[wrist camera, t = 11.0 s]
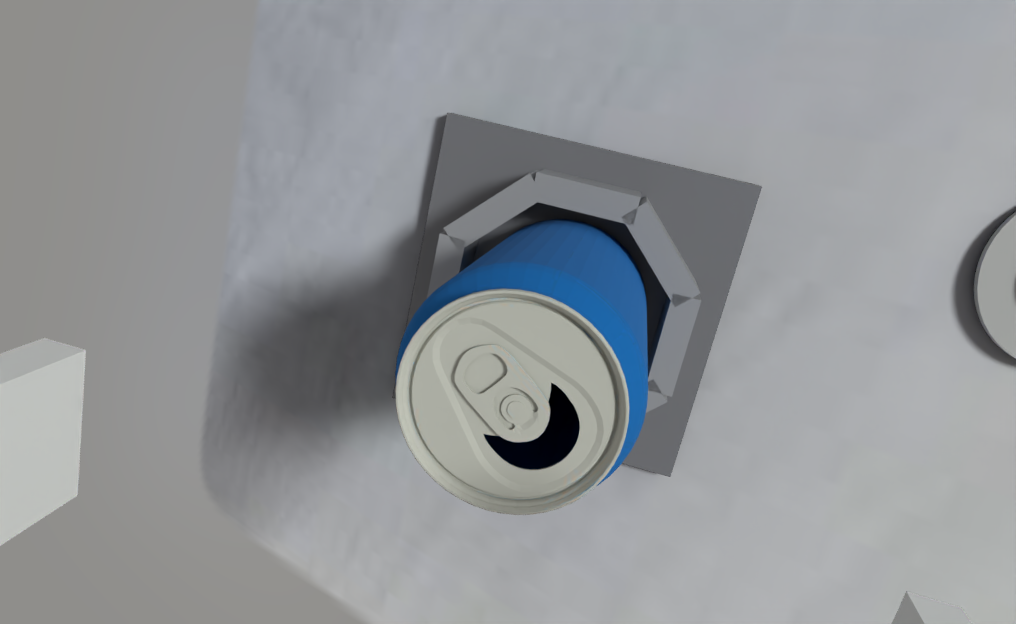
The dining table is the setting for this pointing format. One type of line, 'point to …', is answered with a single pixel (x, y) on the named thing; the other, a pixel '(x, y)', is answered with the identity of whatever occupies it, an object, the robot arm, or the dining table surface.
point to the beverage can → (528, 370)
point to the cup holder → (619, 212)
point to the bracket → (998, 286)
